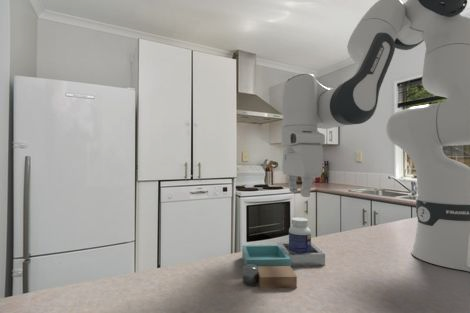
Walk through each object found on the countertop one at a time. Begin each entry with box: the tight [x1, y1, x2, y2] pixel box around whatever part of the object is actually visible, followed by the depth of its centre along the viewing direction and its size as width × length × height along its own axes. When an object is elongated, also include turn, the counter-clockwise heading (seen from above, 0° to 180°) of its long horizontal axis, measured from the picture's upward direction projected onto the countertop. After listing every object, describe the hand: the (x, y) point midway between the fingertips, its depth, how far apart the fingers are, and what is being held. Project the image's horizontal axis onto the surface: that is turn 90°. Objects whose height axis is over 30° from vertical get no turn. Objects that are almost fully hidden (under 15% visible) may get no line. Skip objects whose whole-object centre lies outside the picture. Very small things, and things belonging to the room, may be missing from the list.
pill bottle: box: [288, 216, 312, 253], centre depth 64 cm, size 5×5×10 cm
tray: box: [241, 244, 292, 268], centre depth 59 cm, size 10×10×3 cm
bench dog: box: [242, 264, 259, 287], centre depth 51 cm, size 3×3×3 cm
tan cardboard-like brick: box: [257, 266, 298, 290], centre depth 51 cm, size 7×5×2 cm
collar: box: [277, 242, 326, 267], centre depth 64 cm, size 9×9×2 cm
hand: (298, 194), depth 64 cm, fingers open, 8 cm apart
